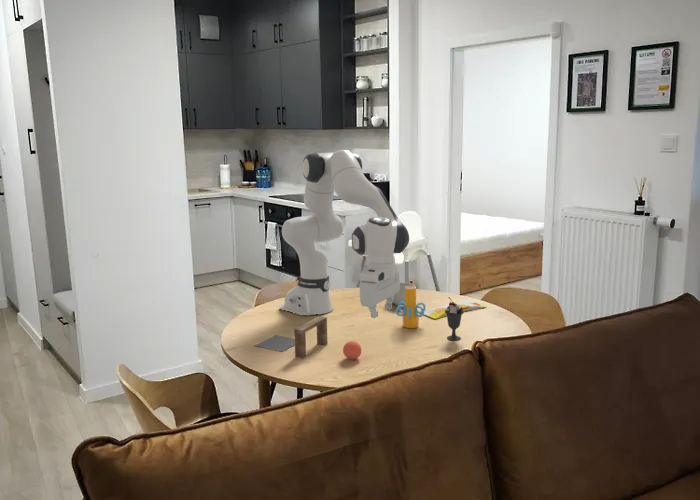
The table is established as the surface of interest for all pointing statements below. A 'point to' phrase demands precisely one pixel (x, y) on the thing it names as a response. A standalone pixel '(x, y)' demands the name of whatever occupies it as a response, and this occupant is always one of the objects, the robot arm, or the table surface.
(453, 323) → the sundae
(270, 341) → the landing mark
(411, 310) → the cylinder
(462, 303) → the food package
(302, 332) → the bridge
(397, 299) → the teacup
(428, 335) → the table surface
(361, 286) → the robot arm
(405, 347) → the table surface
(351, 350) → the ball
